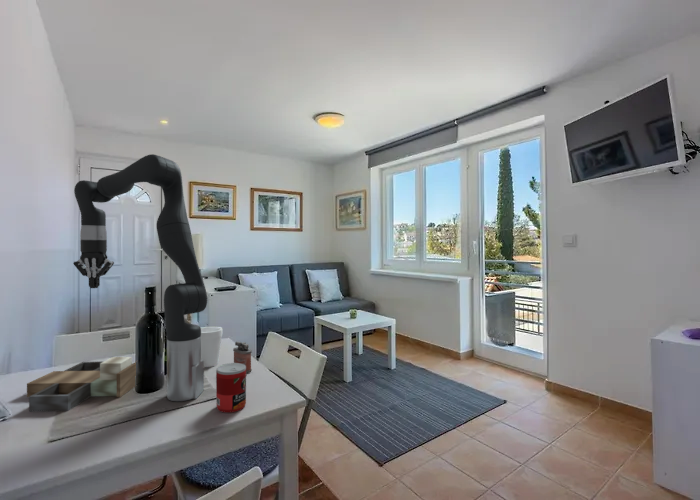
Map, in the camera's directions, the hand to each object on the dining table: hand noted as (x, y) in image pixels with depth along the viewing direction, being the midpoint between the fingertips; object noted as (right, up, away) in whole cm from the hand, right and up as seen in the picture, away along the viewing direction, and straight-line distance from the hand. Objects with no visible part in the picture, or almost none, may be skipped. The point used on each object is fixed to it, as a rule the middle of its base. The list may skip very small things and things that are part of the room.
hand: (94, 287), depth 125 cm
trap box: (+9, -30, -16) cm, 35 cm away
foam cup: (+38, -29, +8) cm, 48 cm away
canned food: (+57, -30, -27) cm, 70 cm away
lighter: (+52, -30, +1) cm, 60 cm away
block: (+18, -26, -16) cm, 35 cm away
